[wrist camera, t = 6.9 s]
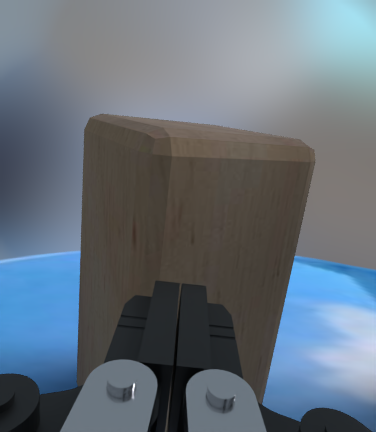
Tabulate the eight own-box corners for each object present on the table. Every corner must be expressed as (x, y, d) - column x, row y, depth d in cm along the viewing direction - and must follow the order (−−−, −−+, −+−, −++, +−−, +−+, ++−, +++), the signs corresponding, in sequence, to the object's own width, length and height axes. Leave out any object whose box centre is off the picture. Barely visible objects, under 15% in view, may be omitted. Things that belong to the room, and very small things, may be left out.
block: (118, 514, 19) (150, 127, 13) (73, 383, 27) (80, 111, 21) (260, 442, 24) (327, 143, 18) (186, 351, 32) (216, 124, 26)
